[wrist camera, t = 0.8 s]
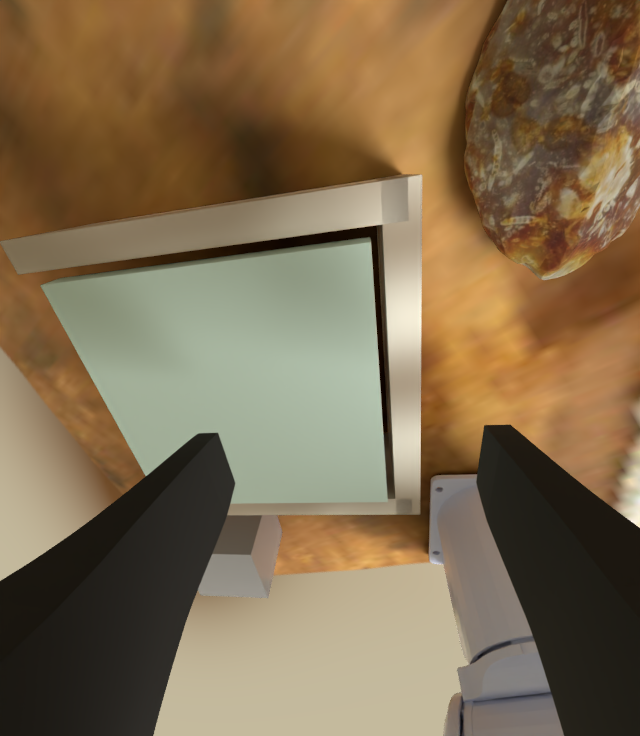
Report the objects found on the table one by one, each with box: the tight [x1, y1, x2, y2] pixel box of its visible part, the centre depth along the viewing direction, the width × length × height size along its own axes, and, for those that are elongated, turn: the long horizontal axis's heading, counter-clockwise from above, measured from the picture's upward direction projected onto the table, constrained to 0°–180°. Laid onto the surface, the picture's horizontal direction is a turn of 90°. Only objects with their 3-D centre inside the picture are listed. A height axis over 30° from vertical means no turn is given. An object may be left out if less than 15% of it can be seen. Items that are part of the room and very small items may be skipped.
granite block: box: [198, 515, 282, 598], centre depth 24 cm, size 5×5×5 cm
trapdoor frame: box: [0, 174, 422, 515], centre depth 17 cm, size 15×15×5 cm
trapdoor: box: [40, 237, 388, 504], centre depth 15 cm, size 12×12×1 cm
